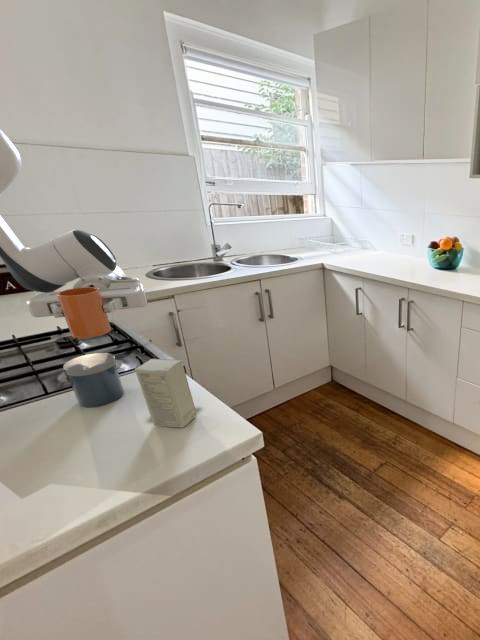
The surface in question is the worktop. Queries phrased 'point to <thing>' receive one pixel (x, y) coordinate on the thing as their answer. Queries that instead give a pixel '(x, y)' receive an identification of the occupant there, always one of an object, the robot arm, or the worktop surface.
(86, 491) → the worktop surface
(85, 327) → the cup
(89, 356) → the jar
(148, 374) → the cosmetic box
